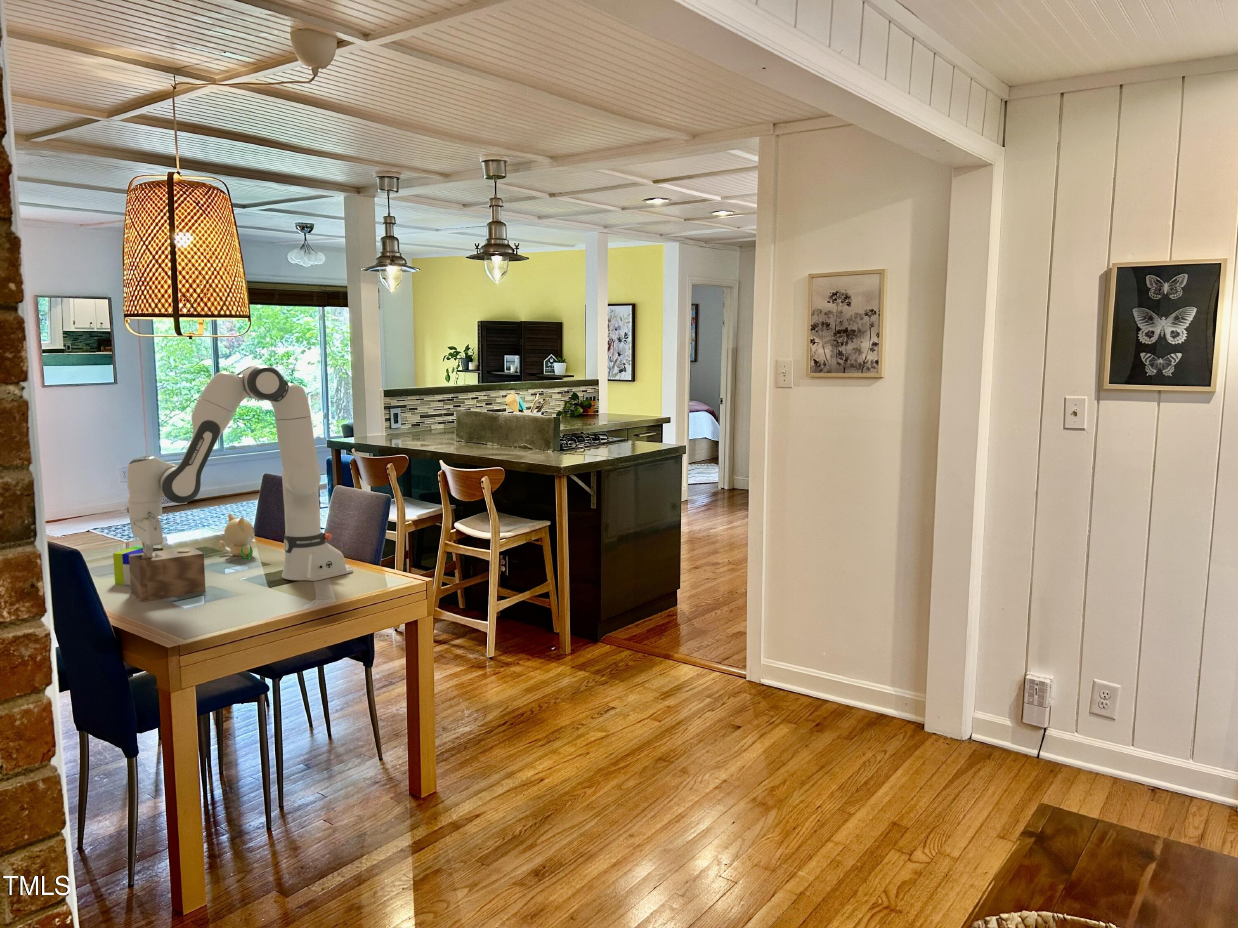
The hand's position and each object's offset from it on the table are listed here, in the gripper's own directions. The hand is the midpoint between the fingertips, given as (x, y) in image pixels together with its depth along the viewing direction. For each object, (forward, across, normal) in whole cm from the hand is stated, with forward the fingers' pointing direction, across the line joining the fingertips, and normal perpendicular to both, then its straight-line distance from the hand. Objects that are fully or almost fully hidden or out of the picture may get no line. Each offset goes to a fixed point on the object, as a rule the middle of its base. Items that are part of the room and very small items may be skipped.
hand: (148, 555), depth 266 cm
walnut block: (+12, 0, -5) cm, 13 cm away
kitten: (+13, +35, -39) cm, 54 cm away
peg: (+11, 0, 0) cm, 11 cm away
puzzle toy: (+13, +20, -2) cm, 24 cm away
